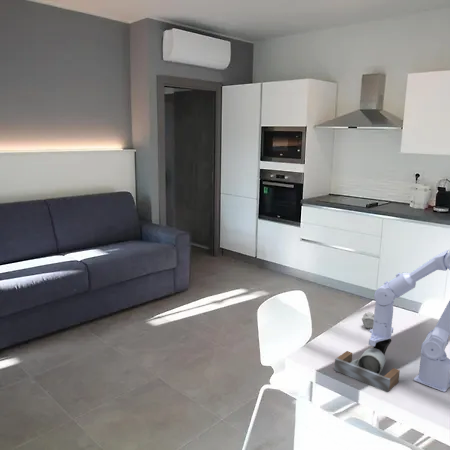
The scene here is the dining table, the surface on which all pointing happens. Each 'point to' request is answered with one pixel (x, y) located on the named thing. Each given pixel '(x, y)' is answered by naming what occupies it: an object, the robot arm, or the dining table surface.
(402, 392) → the dining table surface
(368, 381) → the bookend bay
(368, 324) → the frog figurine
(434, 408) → the dining table surface
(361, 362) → the ceramic mug
